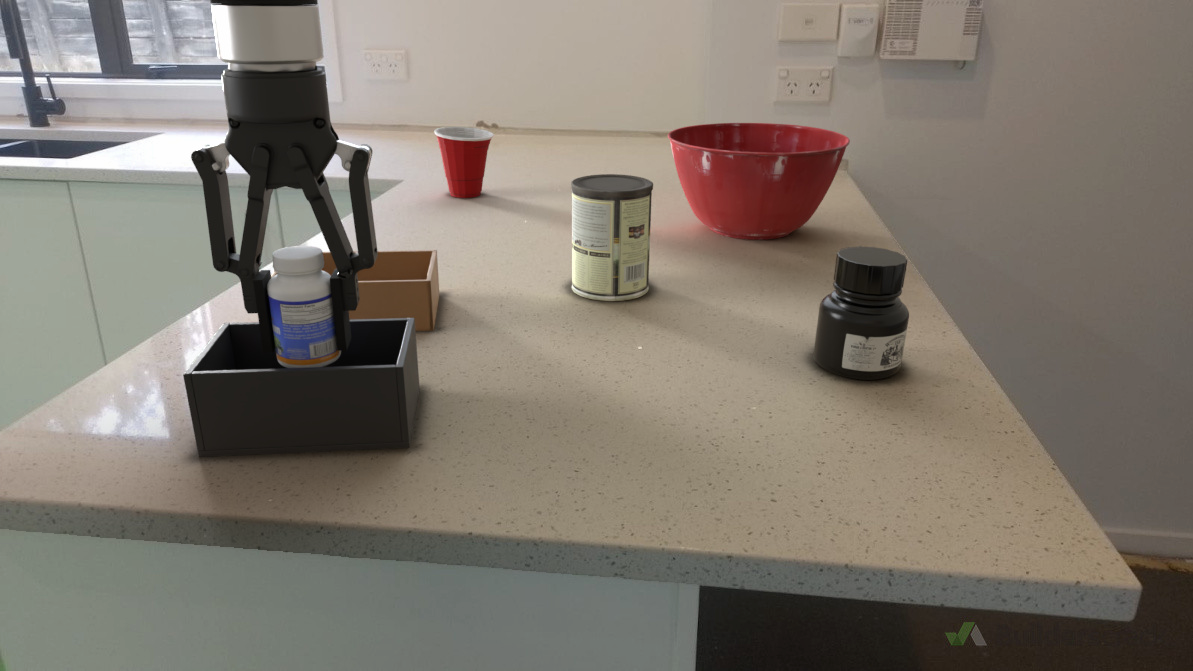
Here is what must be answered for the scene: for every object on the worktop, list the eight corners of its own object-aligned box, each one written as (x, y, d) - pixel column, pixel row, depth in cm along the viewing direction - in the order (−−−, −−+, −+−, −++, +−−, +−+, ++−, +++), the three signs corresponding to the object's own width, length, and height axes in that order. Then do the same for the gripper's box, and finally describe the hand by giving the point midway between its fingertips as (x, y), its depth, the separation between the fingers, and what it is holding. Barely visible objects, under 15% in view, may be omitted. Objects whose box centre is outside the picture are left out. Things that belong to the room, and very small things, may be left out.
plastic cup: (482, 203, 152) (480, 136, 148) (427, 198, 155) (423, 132, 150) (503, 190, 162) (502, 127, 157) (452, 186, 165) (449, 124, 160)
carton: (270, 335, 94) (263, 284, 92) (293, 298, 105) (287, 252, 103) (433, 330, 96) (430, 280, 94) (439, 295, 107) (436, 249, 105)
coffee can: (590, 271, 117) (592, 170, 111) (660, 283, 113) (665, 178, 107) (556, 294, 108) (556, 185, 103) (630, 307, 104) (634, 194, 99)
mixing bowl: (692, 258, 124) (699, 152, 118) (644, 210, 149) (648, 122, 143) (869, 250, 129) (884, 148, 123) (793, 205, 155) (802, 120, 149)
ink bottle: (856, 390, 83) (873, 275, 79) (792, 358, 90) (805, 251, 85) (920, 369, 88) (940, 260, 83) (855, 341, 95) (870, 238, 90)
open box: (198, 457, 70) (182, 374, 67) (236, 396, 80) (223, 322, 77) (409, 448, 71) (403, 367, 69) (419, 390, 82) (414, 317, 79)
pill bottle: (282, 348, 75) (267, 243, 72) (345, 344, 76) (333, 241, 72) (272, 373, 70) (255, 262, 67) (339, 369, 71) (326, 260, 68)
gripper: (401, 62, 68) (419, 326, 77) (163, 60, 66) (210, 332, 75) (391, 70, 61) (413, 359, 70) (125, 69, 59) (182, 367, 68)
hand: (308, 344), depth 73 cm, fingers closed on pill bottle, 5 cm apart
